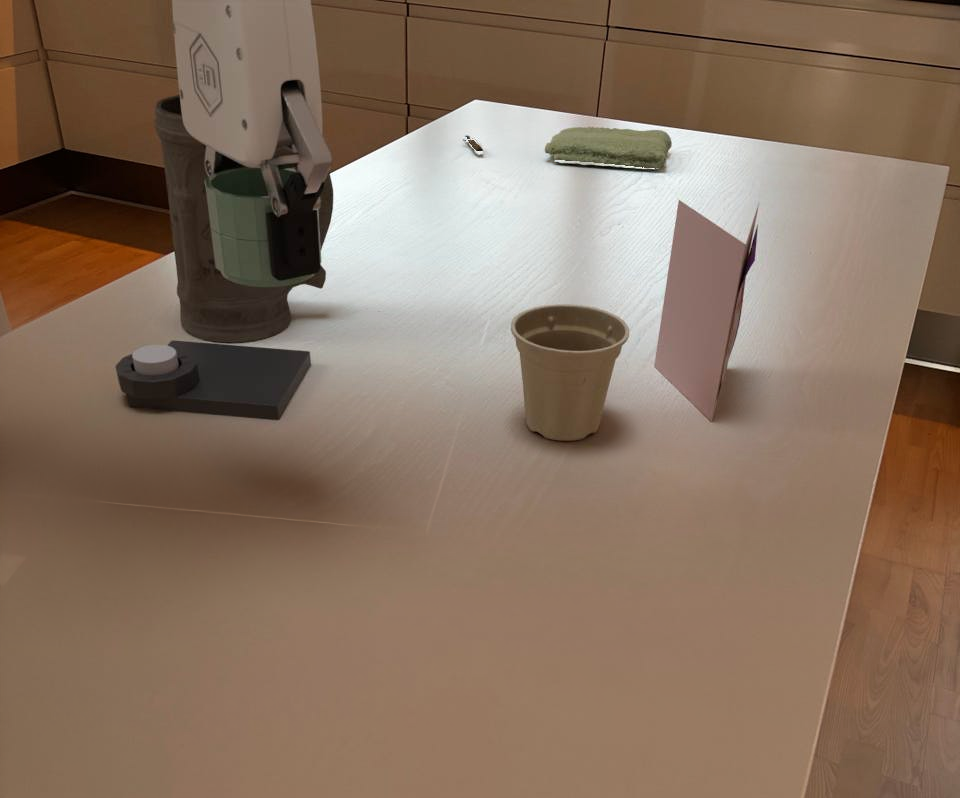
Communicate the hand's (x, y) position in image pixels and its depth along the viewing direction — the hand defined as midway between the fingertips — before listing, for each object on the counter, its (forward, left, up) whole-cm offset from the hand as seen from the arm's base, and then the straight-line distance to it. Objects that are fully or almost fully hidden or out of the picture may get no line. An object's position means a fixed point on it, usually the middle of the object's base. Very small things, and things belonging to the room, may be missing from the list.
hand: (267, 255), depth 67 cm
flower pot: (+20, +14, -18) cm, 30 cm away
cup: (0, 0, -1) cm, 1 cm away
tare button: (-15, +12, -15) cm, 24 cm away
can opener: (+2, +99, -17) cm, 100 cm away
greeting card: (+31, +23, -18) cm, 42 cm away
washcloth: (+22, +99, -18) cm, 102 cm away
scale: (-10, +16, -17) cm, 26 cm away
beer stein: (-11, +31, -18) cm, 37 cm away
